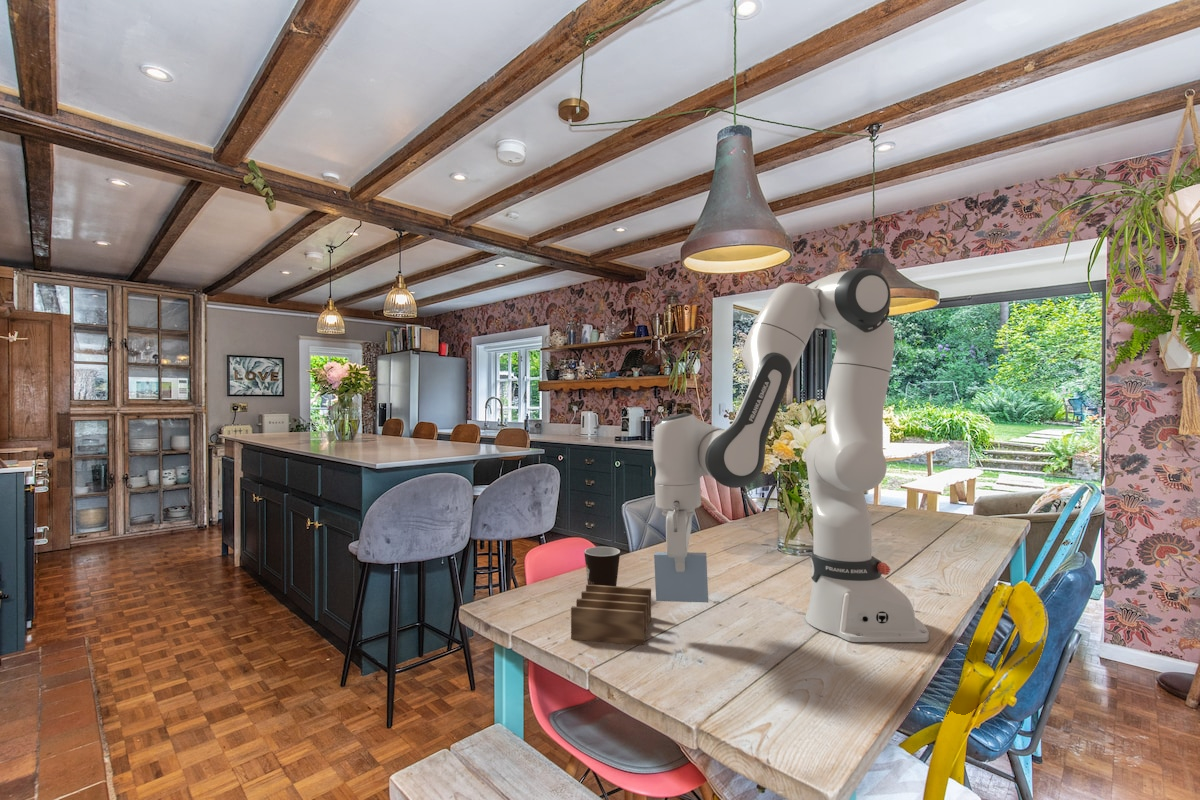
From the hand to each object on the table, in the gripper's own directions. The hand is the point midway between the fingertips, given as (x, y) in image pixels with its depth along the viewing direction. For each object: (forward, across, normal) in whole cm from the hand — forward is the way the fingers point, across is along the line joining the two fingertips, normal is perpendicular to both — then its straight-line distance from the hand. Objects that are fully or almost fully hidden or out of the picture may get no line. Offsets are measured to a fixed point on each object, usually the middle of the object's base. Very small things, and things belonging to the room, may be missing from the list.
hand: (681, 568), depth 108 cm
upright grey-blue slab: (+6, 0, 0) cm, 6 cm away
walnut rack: (+13, +2, +14) cm, 19 cm away
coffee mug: (+13, +22, +20) cm, 33 cm away
